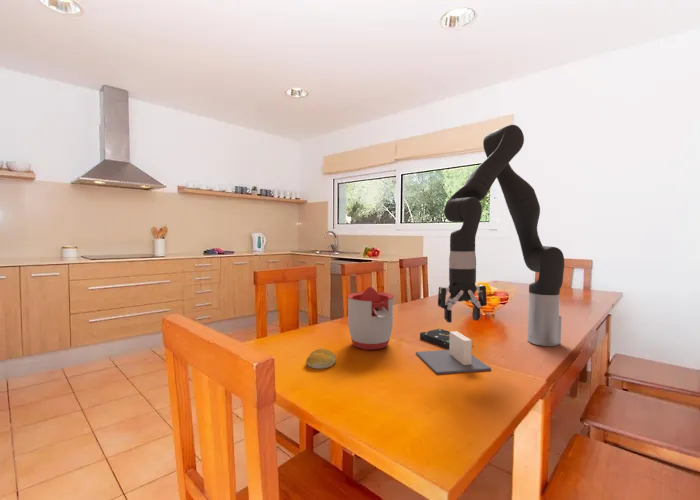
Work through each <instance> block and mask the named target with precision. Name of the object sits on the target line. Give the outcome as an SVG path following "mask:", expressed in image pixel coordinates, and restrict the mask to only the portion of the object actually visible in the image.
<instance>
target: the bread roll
mask: <svg viewBox="0 0 700 500" xmlns="http://www.w3.org/2000/svg"><path fill="white" fill-rule="evenodd" d="M336 360H337V359H336V355H335V354H334V352H333V351H332V350H330V349H327V348H323V347H322V348H317V349H315V350H313V351H312V352H311V353H310V354H309V356H308V357H307V358H306V361H305V363H306V366H307V365H308V366H307V367H308V368H309V367H310V368H312V369H314V368H315V369H316V370H323V369H327V368H330V367H333V366H335V363H336Z"/></svg>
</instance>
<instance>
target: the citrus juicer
mask: <svg viewBox="0 0 700 500" xmlns="http://www.w3.org/2000/svg"><path fill="white" fill-rule="evenodd" d="M394 298H395V297H394V295H393V294H391V293H389V292H388V293H387V292H383V291H377V290H375V289H374V287H372V286H369V287H367V288H366V289H365V291H359V292H357V291H356V292H352V293H349V294H347V320H348V321H347V322H348V323H347V324H348V330H349V331H348V332H349V334H350V335H349V336H350V339H351V343H352V344H353V346H354V347H356V348H358V349H362V350H363V351H369V350H380V349H383V348H386V347H387V346H388V344H389V343H390V340H391V335H392V331H393V330H392V329H393V325H394V324H393V323H394V322H393V319H394V317H393V315H394V313H393V309H394V307H393V306H394Z"/></svg>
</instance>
